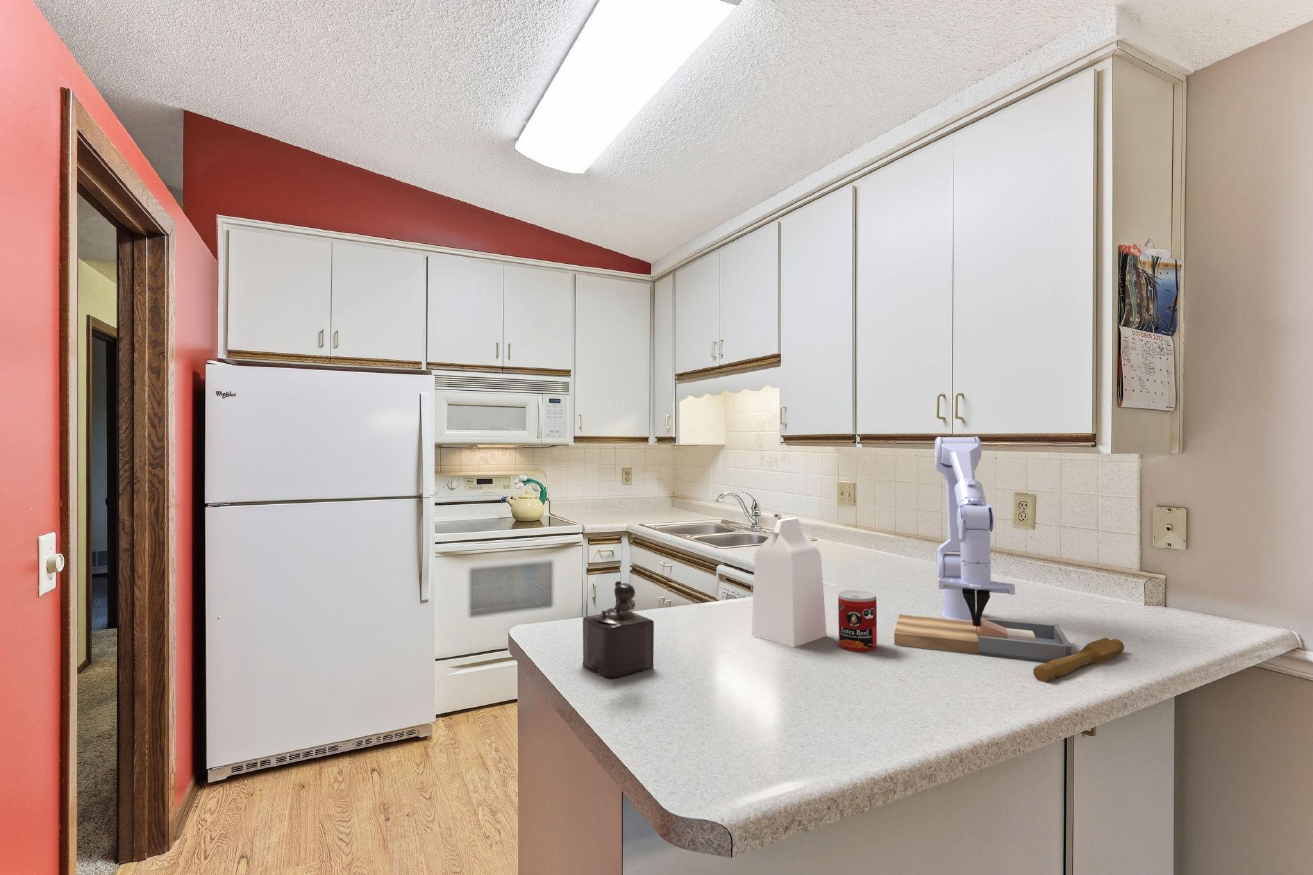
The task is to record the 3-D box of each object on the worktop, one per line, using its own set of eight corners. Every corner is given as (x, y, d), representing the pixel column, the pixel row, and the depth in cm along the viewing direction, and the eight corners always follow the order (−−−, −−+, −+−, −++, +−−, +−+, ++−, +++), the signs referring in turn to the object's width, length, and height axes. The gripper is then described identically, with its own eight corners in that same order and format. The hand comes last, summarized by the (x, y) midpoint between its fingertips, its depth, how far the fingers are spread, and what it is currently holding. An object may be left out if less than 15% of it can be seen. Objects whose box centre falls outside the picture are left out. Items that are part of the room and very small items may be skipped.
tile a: (976, 628, 139) (980, 617, 139) (1001, 638, 137) (1005, 627, 137) (977, 634, 135) (982, 623, 134) (1003, 645, 133) (1007, 634, 132)
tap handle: (1036, 661, 116) (1115, 634, 132) (1028, 674, 117) (1107, 645, 133) (1052, 674, 114) (1130, 644, 129) (1044, 686, 115) (1122, 656, 131)
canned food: (835, 649, 134) (834, 596, 134) (843, 638, 141) (842, 588, 141) (873, 654, 130) (872, 600, 130) (879, 643, 137) (879, 592, 137)
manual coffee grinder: (578, 665, 126) (577, 573, 126) (625, 654, 132) (625, 566, 132) (621, 689, 113) (620, 587, 113) (671, 675, 120) (670, 579, 120)
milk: (793, 647, 135) (792, 523, 136) (751, 635, 144) (750, 519, 144) (826, 635, 143) (825, 519, 143) (784, 624, 152) (783, 514, 152)
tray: (975, 632, 144) (975, 617, 144) (1058, 641, 138) (1058, 624, 138) (978, 654, 130) (978, 637, 130) (1071, 665, 123) (1071, 646, 123)
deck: (899, 624, 151) (899, 614, 151) (975, 632, 144) (975, 621, 144) (894, 644, 136) (894, 632, 136) (978, 654, 130) (978, 641, 130)
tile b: (1005, 639, 137) (1005, 628, 137) (1032, 642, 135) (1032, 630, 135) (1007, 646, 133) (1007, 634, 133) (1035, 649, 131) (1035, 637, 131)
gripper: (938, 562, 137) (938, 626, 137) (1016, 567, 131) (1016, 634, 131) (938, 556, 143) (939, 617, 143) (1012, 561, 137) (1013, 624, 137)
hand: (976, 625), depth 137 cm, fingers closed
